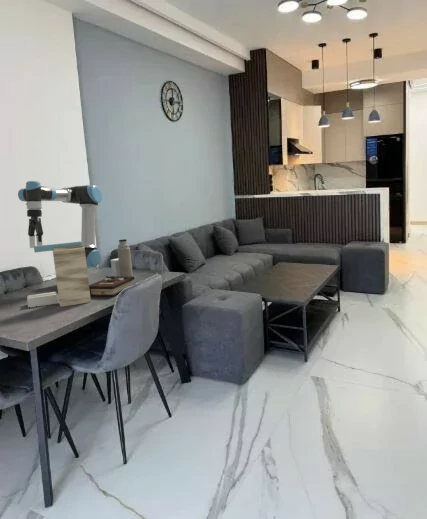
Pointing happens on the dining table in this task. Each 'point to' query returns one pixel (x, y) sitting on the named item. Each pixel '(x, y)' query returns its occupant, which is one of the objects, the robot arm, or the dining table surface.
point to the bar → (55, 246)
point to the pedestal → (71, 275)
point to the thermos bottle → (124, 259)
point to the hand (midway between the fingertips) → (36, 248)
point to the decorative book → (110, 286)
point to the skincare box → (115, 267)
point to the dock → (42, 299)
